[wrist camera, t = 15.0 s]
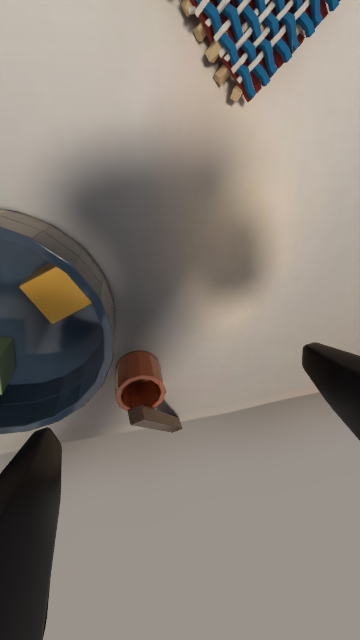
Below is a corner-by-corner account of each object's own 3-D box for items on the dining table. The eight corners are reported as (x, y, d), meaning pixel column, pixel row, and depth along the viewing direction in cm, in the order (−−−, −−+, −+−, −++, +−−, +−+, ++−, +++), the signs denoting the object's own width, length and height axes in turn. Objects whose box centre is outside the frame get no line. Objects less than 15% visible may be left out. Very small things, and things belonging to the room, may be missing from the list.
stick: (127, 409, 20) (169, 421, 28) (130, 425, 19) (172, 432, 27) (141, 403, 19) (179, 417, 28) (144, 419, 19) (182, 428, 27)
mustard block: (60, 306, 19) (52, 325, 16) (32, 271, 17) (18, 286, 15) (95, 287, 19) (92, 303, 16) (70, 251, 17) (62, 262, 15)
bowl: (-26, 405, 22) (-61, 459, 17) (-174, 240, 15) (-294, 262, 10) (134, 356, 23) (139, 395, 19) (70, 184, 16) (54, 183, 12)
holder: (123, 390, 25) (125, 418, 22) (110, 358, 23) (109, 385, 20) (163, 377, 25) (169, 404, 22) (153, 345, 23) (159, 369, 20)
